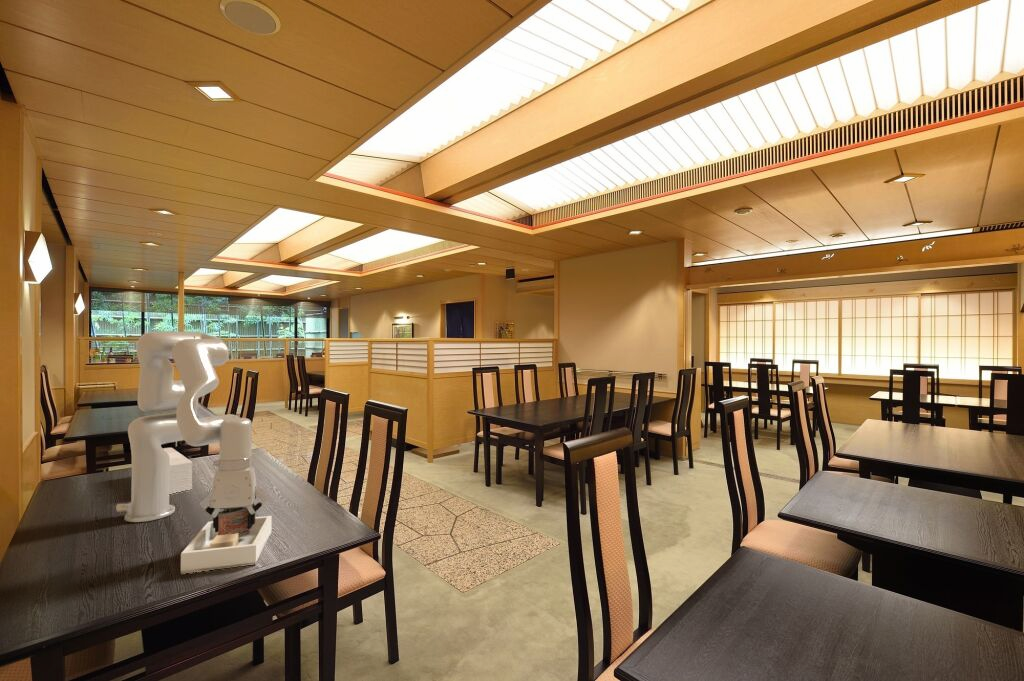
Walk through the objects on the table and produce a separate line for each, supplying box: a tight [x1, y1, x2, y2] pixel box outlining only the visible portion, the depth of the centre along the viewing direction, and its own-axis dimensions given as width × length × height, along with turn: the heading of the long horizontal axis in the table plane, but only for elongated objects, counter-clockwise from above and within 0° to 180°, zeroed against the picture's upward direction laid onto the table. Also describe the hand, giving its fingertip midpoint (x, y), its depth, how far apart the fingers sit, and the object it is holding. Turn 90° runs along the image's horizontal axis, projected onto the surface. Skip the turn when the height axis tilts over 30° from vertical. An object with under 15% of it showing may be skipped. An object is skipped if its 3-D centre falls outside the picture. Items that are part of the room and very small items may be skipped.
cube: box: [210, 533, 238, 549], centre depth 116 cm, size 5×5×5 cm
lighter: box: [218, 507, 250, 538], centre depth 125 cm, size 8×3×10 cm, turn 143°
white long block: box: [162, 447, 193, 495], centre depth 176 cm, size 32×11×11 cm, turn 48°
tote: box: [180, 515, 273, 575], centre depth 121 cm, size 16×20×5 cm
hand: (234, 528), depth 125 cm, fingers closed on lighter, 7 cm apart
